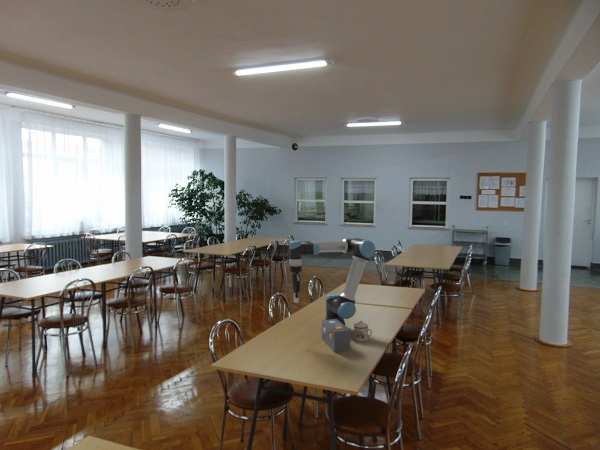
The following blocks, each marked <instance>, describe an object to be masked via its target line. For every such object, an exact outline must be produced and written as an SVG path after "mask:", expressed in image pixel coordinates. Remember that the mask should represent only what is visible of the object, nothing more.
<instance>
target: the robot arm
mask: <svg viewBox="0 0 600 450" xmlns="http://www.w3.org/2000/svg"><path fill="white" fill-rule="evenodd" d="M288 247H289V248H288V249H289V260H288V262H289V265H290V266H289V272H290V273H292V274H291V279H292V281H291V282H292V290H293V303H295V304H298V303H299V300H300V298H299V297H300V296H299V294H300V291H301V290H300V289H301V276H300V273H302V271H303V267H302V265H303V261H302V257H303V256H315V255H319V254H320V253H341V252H342V253H343V254H351V257H352V262H351V265H350V269H349V272H348V274H347V278H346V281H345V283H344V287H343V289H342V291H341V292H342V293H331V294H327V295H326V296H325V319H324V320H331V319H337V320H338V321H340V322H341V323H342V324H343V325H344V326H346V321H345V320H349V319H351V318H354V316H355V313H356V312H357V311H356V310H357V306H356V305H355V304H356V301H357V300H356V298H355V296H356V293H357V291H358V288H359V285H360V282H361V279H362V276H363V272H364V271H365V270H364V269H365V267H366V264H367V263H369V262H370V259H371V258H372V257H374V256H375V254H376V245H375V243H373V241H372V240H369V239H365V238H359V237H358V238H344V239H342V240H310V241H309V240H308V241H307V240H305V241H304V240H291V241H289V246H288ZM344 319H345V320H344Z"/></svg>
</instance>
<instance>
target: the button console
mask: <svg viewBox="0 0 600 450" xmlns="http://www.w3.org/2000/svg"><path fill="white" fill-rule="evenodd" d="M324 327H325V328H326V334H324V330H323V329H324ZM330 333H332V341H331V340H330ZM321 339H322V340H323V342H325V344H327V346H328V347H329V348H330V349H331V350H332V351H333V353H337V352H348V351H351V329H350V328H348V327H347V326H346V325H345V326H344V325H343V324H342V323H341V322H340V321H338V320H337V319H331V320H325V319H322V320H321Z"/></svg>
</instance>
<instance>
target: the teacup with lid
mask: <svg viewBox="0 0 600 450" xmlns="http://www.w3.org/2000/svg"><path fill="white" fill-rule="evenodd" d="M368 331H369V332H370V334H369V332H368ZM368 334H369V335H368ZM372 335H373V330H372V329H370V328H369V324H368V323H365V322H363V320H359V321H358V322H356V323H354V324H353V339H354V340H355V341H357V342H366V341H368V340H369V338H370V337H371V336H372Z"/></svg>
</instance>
